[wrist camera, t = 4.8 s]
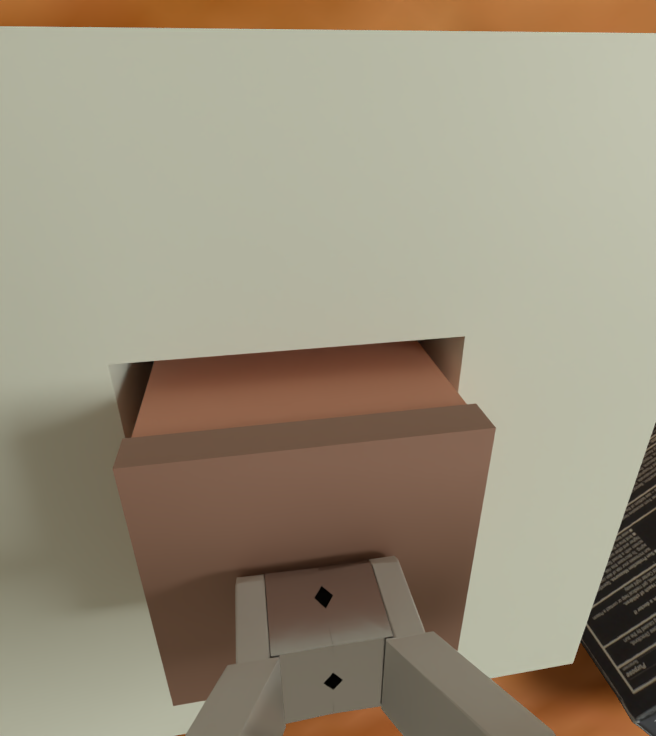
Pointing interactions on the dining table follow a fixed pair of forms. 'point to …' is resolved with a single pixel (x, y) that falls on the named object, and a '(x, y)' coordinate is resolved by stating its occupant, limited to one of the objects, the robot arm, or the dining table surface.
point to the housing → (315, 301)
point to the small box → (630, 604)
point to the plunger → (297, 486)
